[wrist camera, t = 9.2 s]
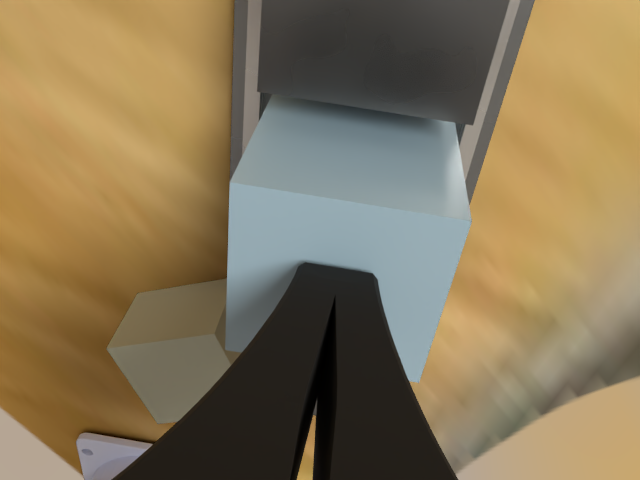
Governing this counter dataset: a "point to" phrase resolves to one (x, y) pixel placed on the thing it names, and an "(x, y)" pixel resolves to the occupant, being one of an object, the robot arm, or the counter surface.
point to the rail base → (379, 62)
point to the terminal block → (174, 346)
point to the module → (347, 214)
